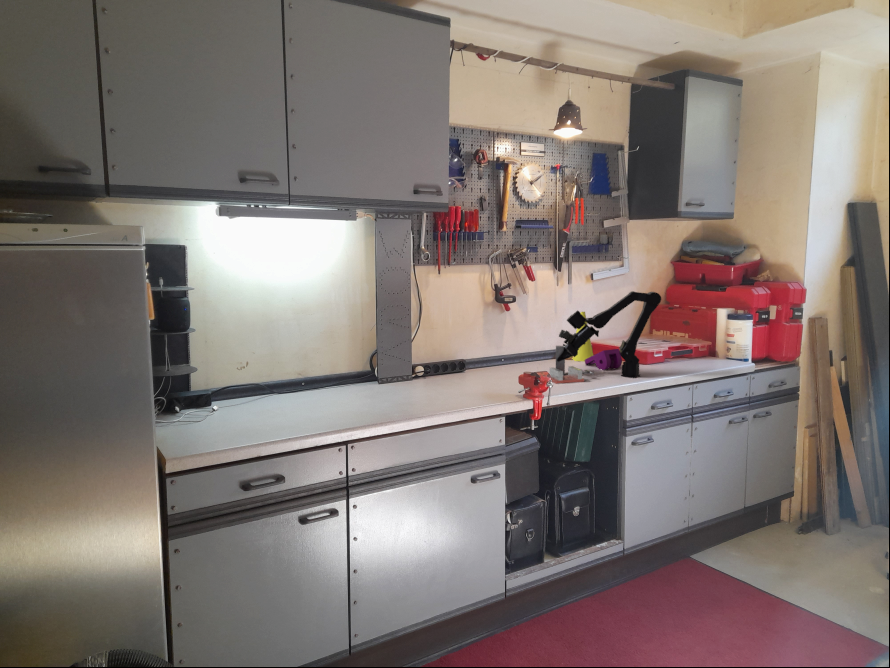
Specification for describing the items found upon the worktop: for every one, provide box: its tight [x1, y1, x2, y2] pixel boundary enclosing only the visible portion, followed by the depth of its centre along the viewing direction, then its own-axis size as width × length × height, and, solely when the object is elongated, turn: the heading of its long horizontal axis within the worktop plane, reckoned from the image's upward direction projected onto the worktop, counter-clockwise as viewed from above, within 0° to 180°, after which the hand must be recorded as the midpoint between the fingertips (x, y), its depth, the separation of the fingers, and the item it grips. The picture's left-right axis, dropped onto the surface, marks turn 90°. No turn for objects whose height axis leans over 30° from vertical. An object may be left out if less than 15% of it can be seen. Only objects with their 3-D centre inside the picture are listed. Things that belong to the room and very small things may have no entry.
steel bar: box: [555, 345, 566, 376], centre depth 266 cm, size 4×4×13 cm
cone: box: [572, 311, 594, 362], centre depth 305 cm, size 12×12×25 cm
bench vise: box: [549, 365, 595, 384], centre depth 254 cm, size 18×9×5 cm, turn 105°
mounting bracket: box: [583, 348, 623, 371], centre depth 284 cm, size 9×8×18 cm
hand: (557, 360), depth 267 cm, fingers closed on steel bar, 4 cm apart
